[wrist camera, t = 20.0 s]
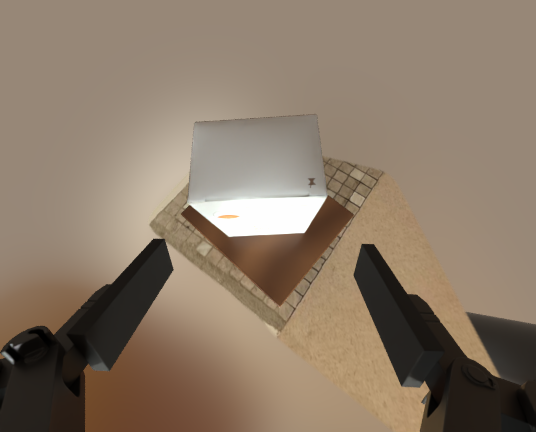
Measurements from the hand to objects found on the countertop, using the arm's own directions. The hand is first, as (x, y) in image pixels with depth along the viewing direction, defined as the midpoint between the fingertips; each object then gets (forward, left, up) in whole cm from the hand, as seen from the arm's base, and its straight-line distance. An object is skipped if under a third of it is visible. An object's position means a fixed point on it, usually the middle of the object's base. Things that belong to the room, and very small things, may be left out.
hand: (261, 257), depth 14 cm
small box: (+4, -4, -7) cm, 9 cm away
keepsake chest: (+3, -4, -17) cm, 18 cm away
